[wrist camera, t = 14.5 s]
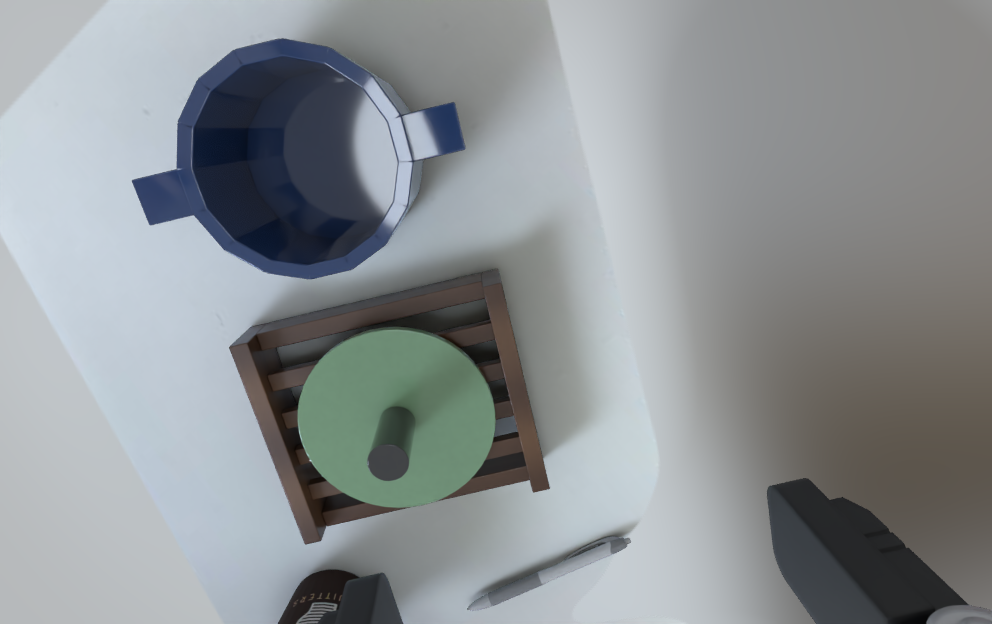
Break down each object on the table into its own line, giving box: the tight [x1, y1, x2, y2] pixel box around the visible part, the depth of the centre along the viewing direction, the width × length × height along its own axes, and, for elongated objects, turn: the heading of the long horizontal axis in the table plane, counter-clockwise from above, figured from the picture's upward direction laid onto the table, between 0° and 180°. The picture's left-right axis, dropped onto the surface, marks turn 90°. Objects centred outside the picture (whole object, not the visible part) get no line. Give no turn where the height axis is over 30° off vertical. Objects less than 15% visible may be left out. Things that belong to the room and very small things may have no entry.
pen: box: [467, 537, 631, 611], centre depth 48 cm, size 1×14×1 cm, turn 116°
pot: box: [132, 38, 466, 279], centre depth 35 cm, size 12×17×8 cm
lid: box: [298, 327, 496, 508], centre depth 38 cm, size 13×13×6 cm
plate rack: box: [229, 269, 550, 544], centre depth 42 cm, size 15×17×4 cm
